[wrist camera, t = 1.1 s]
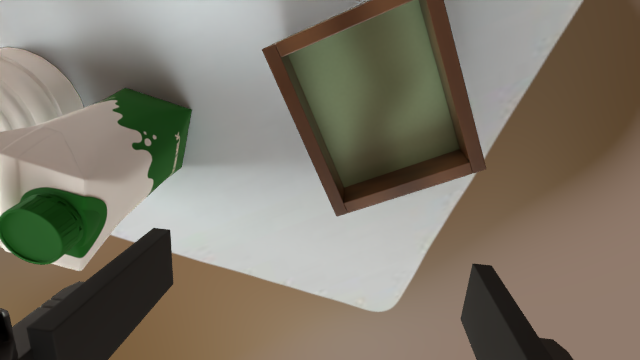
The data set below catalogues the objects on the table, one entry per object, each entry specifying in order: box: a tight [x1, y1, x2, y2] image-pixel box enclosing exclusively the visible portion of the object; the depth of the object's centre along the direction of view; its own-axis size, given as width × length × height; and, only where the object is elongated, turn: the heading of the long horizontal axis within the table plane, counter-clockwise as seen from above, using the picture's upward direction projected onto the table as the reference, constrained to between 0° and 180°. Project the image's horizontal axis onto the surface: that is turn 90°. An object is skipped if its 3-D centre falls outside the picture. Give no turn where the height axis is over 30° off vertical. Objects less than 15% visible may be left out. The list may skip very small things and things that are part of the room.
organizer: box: [262, 0, 486, 216], centre depth 31 cm, size 12×14×11 cm
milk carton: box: [0, 88, 192, 271], centre depth 31 cm, size 9×9×20 cm
